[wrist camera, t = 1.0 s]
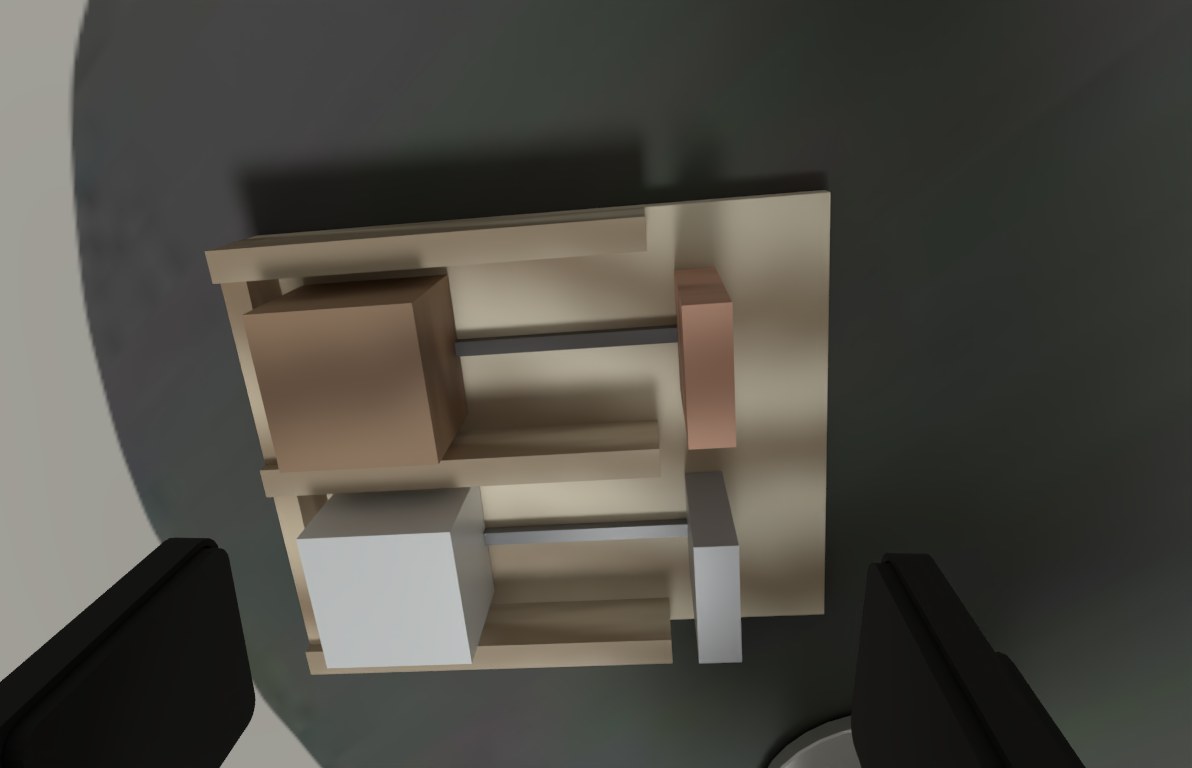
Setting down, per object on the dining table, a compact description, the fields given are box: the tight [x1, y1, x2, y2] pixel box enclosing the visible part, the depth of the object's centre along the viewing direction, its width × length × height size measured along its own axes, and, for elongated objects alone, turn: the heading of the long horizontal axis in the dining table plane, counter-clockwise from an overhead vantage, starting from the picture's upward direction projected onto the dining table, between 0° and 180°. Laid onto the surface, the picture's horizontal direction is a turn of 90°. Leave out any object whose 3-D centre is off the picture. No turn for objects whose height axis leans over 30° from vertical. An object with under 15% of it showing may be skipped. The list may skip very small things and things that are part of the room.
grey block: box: [296, 471, 742, 668], centre depth 31 cm, size 6×17×6 cm, turn 95°
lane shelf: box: [205, 190, 830, 675], centre depth 32 cm, size 19×23×4 cm
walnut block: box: [242, 267, 736, 473], centre depth 28 cm, size 6×17×6 cm, turn 95°
